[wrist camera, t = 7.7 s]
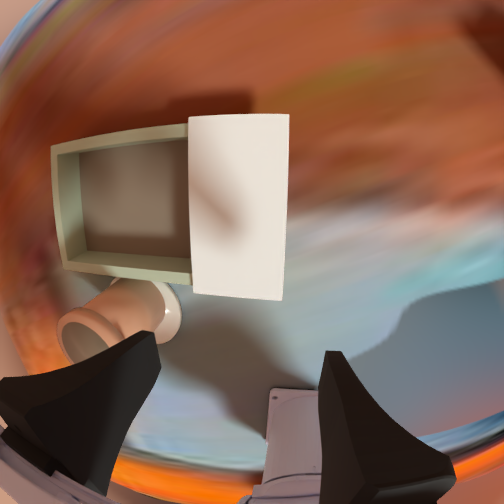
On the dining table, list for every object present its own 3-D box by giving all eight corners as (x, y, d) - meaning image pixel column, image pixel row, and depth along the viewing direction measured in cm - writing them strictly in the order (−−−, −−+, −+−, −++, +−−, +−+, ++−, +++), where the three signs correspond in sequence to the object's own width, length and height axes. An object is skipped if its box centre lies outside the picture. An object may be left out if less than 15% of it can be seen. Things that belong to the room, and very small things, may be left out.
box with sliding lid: (284, 277, 20) (281, 300, 17) (84, 260, 23) (60, 274, 19) (290, 122, 17) (289, 114, 14) (74, 141, 19) (46, 142, 16)
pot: (172, 335, 23) (133, 395, 16) (117, 325, 24) (71, 374, 16) (165, 273, 21) (111, 323, 14) (106, 267, 22) (47, 308, 15)
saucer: (186, 346, 24) (183, 350, 23) (119, 333, 25) (116, 336, 24) (178, 272, 22) (175, 275, 21) (105, 265, 22) (101, 267, 22)
